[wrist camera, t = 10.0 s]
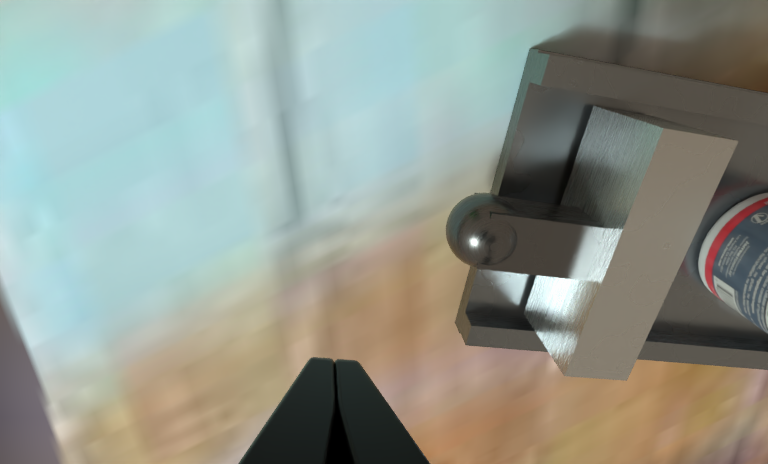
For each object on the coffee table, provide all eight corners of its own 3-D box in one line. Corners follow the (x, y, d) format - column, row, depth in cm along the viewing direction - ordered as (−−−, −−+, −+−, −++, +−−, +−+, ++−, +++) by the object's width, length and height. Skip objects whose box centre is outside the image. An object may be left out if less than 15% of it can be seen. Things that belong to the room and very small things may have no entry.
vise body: (816, 354, 25) (919, 425, 21) (455, 322, 22) (485, 397, 17) (962, 130, 20) (1134, 159, 16) (529, 48, 17) (596, 57, 13)
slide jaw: (575, 318, 21) (626, 380, 17) (412, 303, 20) (430, 366, 16) (654, 116, 18) (738, 140, 14) (462, 83, 16) (499, 100, 13)
